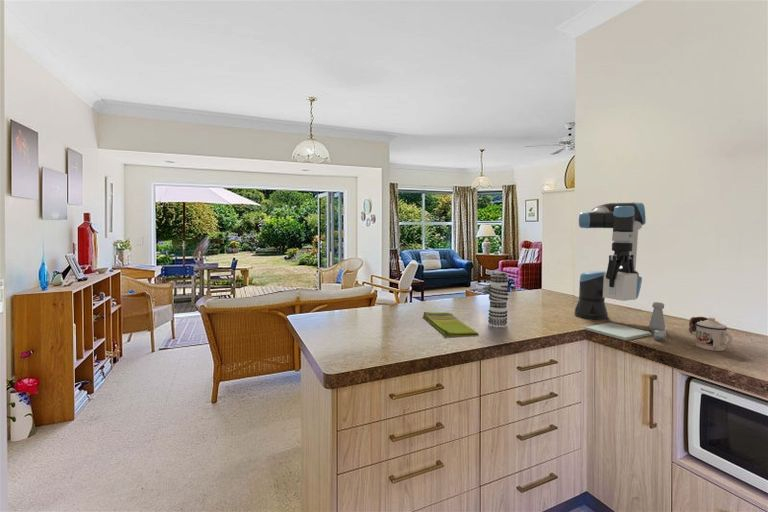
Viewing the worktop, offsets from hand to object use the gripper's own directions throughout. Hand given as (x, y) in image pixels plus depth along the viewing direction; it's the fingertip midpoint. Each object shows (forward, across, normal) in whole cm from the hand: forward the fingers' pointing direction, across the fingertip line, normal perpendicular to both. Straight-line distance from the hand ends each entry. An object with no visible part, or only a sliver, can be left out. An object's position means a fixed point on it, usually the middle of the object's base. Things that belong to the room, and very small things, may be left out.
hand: (619, 293), depth 166 cm
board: (+17, 0, 0) cm, 17 cm away
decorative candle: (+17, -39, +32) cm, 53 cm away
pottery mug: (+17, +33, -16) cm, 41 cm away
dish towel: (+18, -60, +42) cm, 75 cm away
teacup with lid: (+17, +11, -30) cm, 36 cm away
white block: (+2, 0, 0) cm, 2 cm away
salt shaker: (+17, +17, -7) cm, 25 cm away
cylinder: (+17, +4, -15) cm, 23 cm away
